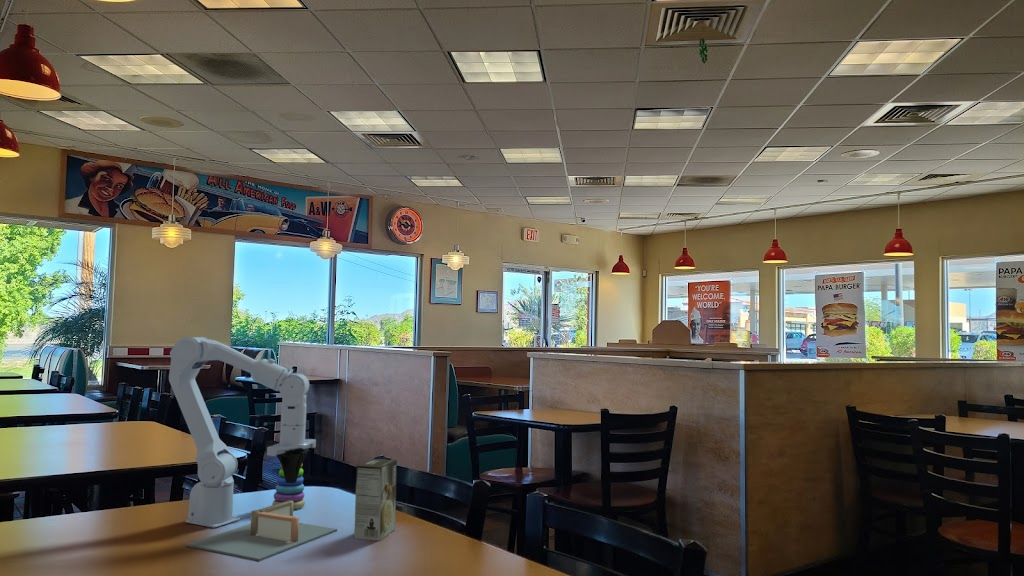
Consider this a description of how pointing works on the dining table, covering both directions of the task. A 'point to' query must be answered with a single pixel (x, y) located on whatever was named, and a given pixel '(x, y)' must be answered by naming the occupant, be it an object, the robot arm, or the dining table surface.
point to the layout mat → (257, 542)
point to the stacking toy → (290, 490)
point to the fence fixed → (280, 508)
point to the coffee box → (375, 499)
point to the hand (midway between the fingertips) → (290, 482)
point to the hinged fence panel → (278, 526)
